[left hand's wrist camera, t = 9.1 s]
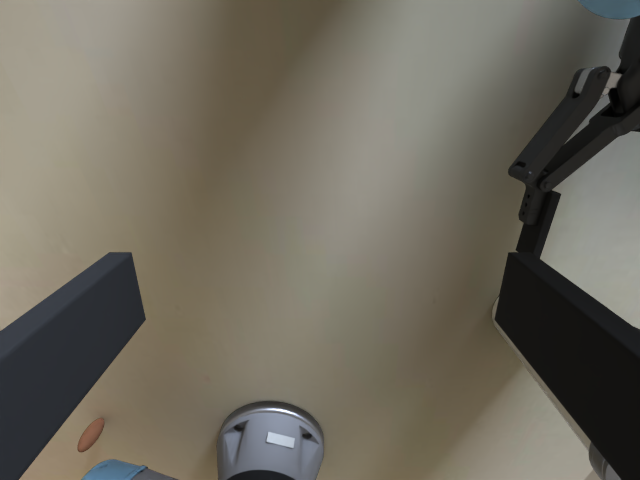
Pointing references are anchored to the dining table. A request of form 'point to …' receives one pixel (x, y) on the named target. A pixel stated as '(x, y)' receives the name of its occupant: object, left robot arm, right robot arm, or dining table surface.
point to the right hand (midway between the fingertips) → (595, 261)
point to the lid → (601, 465)
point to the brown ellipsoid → (90, 435)
